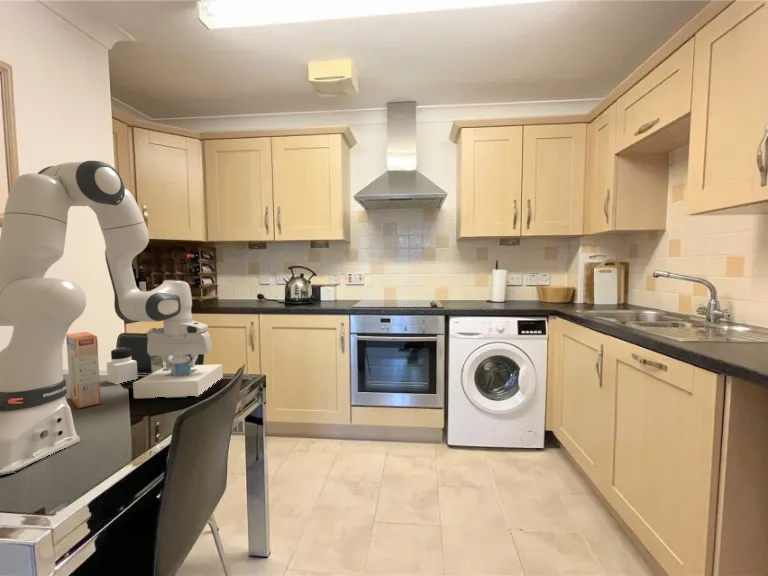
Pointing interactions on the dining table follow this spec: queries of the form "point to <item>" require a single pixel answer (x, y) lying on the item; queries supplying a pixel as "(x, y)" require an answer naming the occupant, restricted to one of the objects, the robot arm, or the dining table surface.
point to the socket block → (178, 382)
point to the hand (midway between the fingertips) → (180, 367)
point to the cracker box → (83, 369)
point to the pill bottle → (180, 364)
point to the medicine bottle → (121, 366)
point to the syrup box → (158, 363)
